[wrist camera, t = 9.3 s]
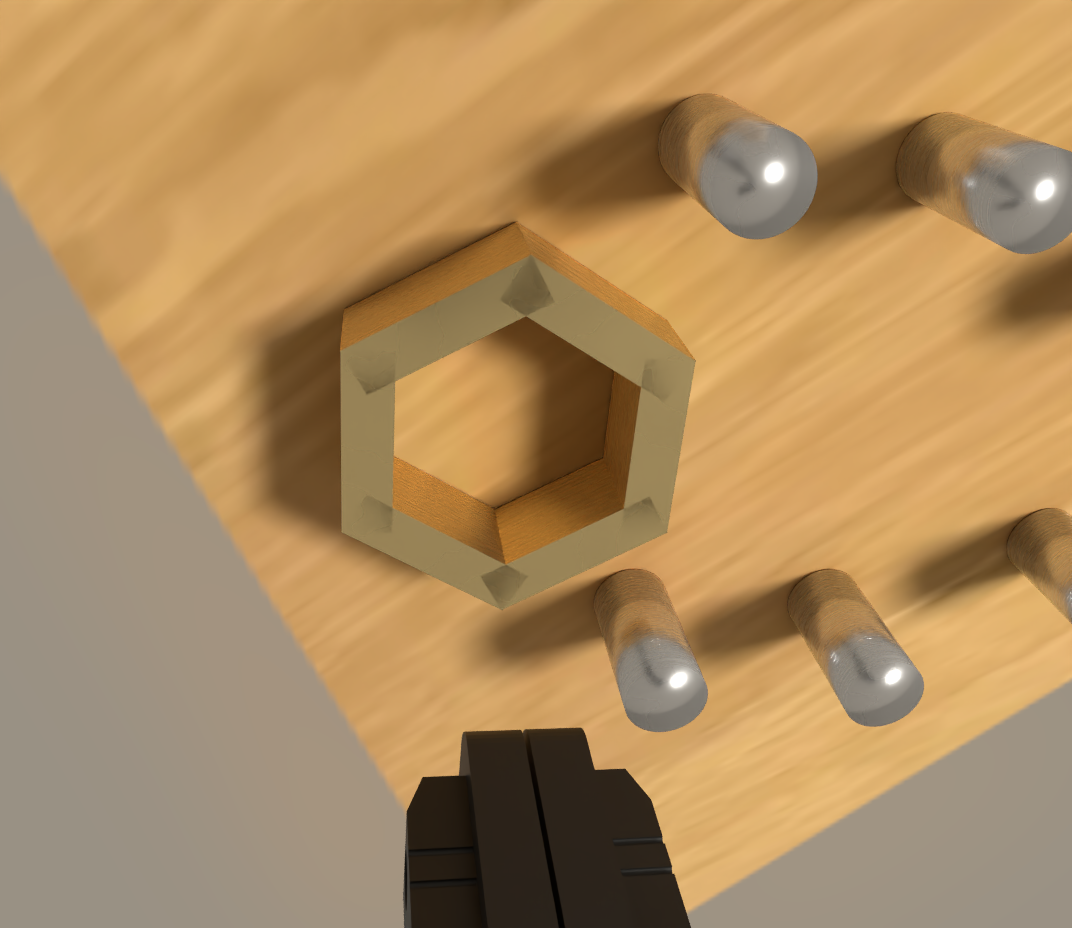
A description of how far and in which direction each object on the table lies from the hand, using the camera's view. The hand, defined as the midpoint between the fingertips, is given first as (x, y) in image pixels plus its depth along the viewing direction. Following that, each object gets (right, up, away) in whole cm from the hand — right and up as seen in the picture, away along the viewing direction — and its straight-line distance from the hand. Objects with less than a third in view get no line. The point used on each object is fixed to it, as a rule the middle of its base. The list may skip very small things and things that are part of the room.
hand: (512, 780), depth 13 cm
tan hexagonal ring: (0, +5, +11) cm, 13 cm away
